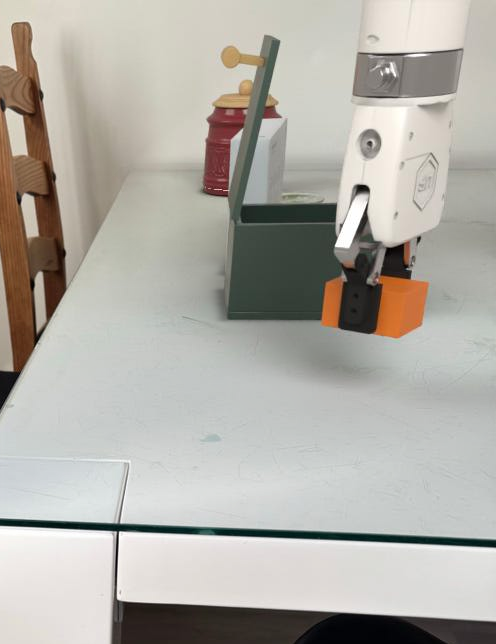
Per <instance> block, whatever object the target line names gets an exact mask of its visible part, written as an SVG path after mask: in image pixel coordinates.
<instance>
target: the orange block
mask: <svg viewBox="0 0 496 644" xmlns="http://www.w3.org/2000/svg"><path fill="white" fill-rule="evenodd" d="M378 283H380V284H383V287H382V294H381V301H380V308H379V315H378V322H377V329H376V331H375V332H374V333H372V334H371V335H375V336H379V337H381V336H382V337H386V338H392V339H400V338H402V337H403V336H405V335H407V334H409V333H411V332H413V331H414V330H416V329H418V328H420V327H422V326H423V322H424V321H423V319H424V315H425V308H426V303H427V296H428V290H429V284H430V282H429V281H423V280H416V279H411V280H409V279H402V278H395V277H387V276H380V277H379V280H378ZM342 288H343V281H342V280H341V276H340V277H338V278H336V279H333V280H331V281H329V282H327V283H326V286H325V295H324V304H323V313H322V319H321V323H320V325H321V326H323V327H328V328H335V329H340V328H339V327H338V320H339V312H340V304H341V296H342Z"/></svg>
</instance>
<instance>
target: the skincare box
mask: <svg viewBox="0 0 496 644" xmlns="http://www.w3.org/2000/svg"><path fill="white" fill-rule="evenodd" d="M287 131H288V117H282V118H273V119H262V123H261V127H260V132H259V136H258V140H257V144H256V149H255V153H254V157H253V162H252V166H251V170H250V174H249V179H248V183H247V187H246V192H245V196H244V200H243V204H268V203H282V193H284V192H283V189H284V175H285V165H286V149H287V133H288V132H287ZM242 132H243V129H242V130H241V131H240V132H238V133H237V134H236V135H235V136H234V137H233V138H232V139H231V148H230V172H229V190H230V185H231V181H232V176H233V172H234V167H235V163H236V159H237V154H238V150H239V145H240V141H241V136H242ZM228 194H229V193H228ZM229 217H230V209H229V204H228V203H227V221H226V241H225V242H226V245H225V246H226V247H225V258H226V257H227V244H228V231H229ZM225 270H226V264H225V267H224V271H225Z"/></svg>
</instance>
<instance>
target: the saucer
mask: <svg viewBox="0 0 496 644" xmlns="http://www.w3.org/2000/svg"><path fill="white" fill-rule="evenodd" d="M324 201H325V197H324V196H323V195H321V194H317V193H310V192H282V203H324Z"/></svg>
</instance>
